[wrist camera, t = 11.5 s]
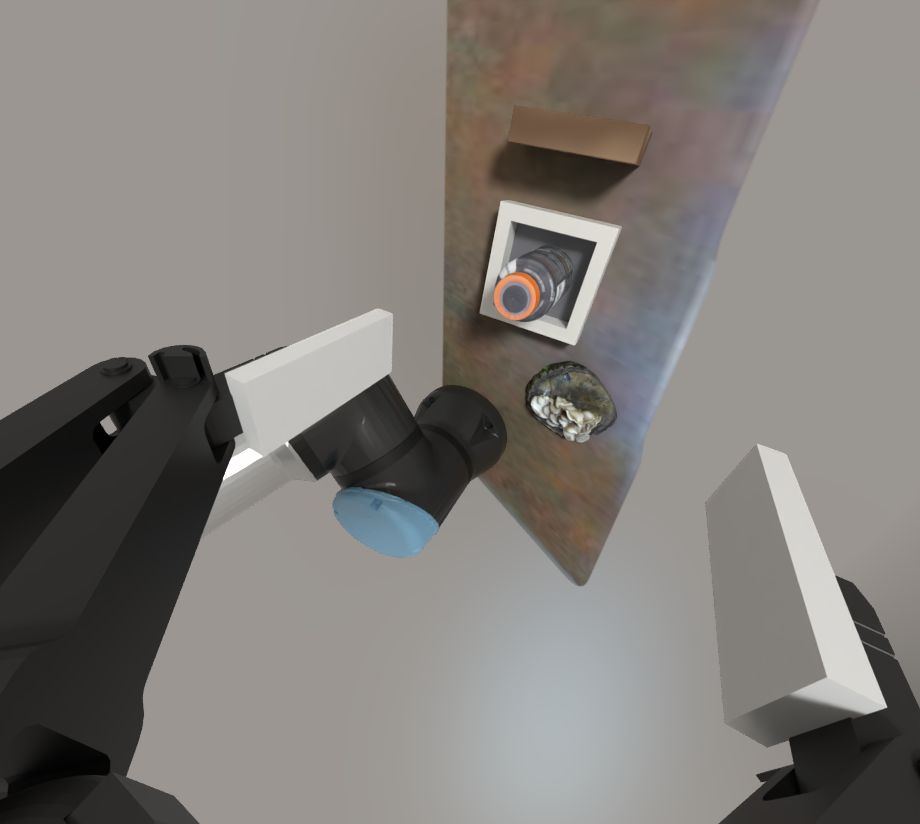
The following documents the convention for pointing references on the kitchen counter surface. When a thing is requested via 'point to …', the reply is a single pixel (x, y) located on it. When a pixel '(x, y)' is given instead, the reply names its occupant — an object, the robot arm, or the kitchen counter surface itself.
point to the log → (570, 401)
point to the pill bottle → (533, 283)
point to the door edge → (580, 134)
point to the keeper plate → (571, 233)
